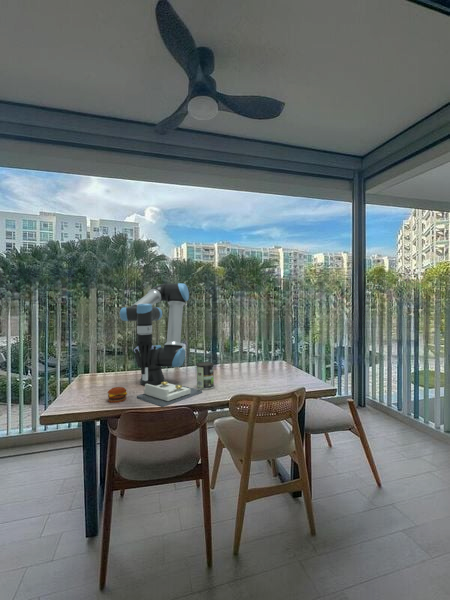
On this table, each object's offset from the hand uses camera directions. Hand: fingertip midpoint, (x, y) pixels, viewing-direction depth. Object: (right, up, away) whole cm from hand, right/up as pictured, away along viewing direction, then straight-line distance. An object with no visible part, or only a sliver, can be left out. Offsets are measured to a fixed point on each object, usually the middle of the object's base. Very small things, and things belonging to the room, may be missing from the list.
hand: (145, 380), depth 155 cm
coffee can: (+29, -12, +27) cm, 41 cm away
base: (+10, -12, +13) cm, 20 cm away
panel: (+9, -10, +11) cm, 18 cm away
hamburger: (-17, -13, +7) cm, 22 cm away
